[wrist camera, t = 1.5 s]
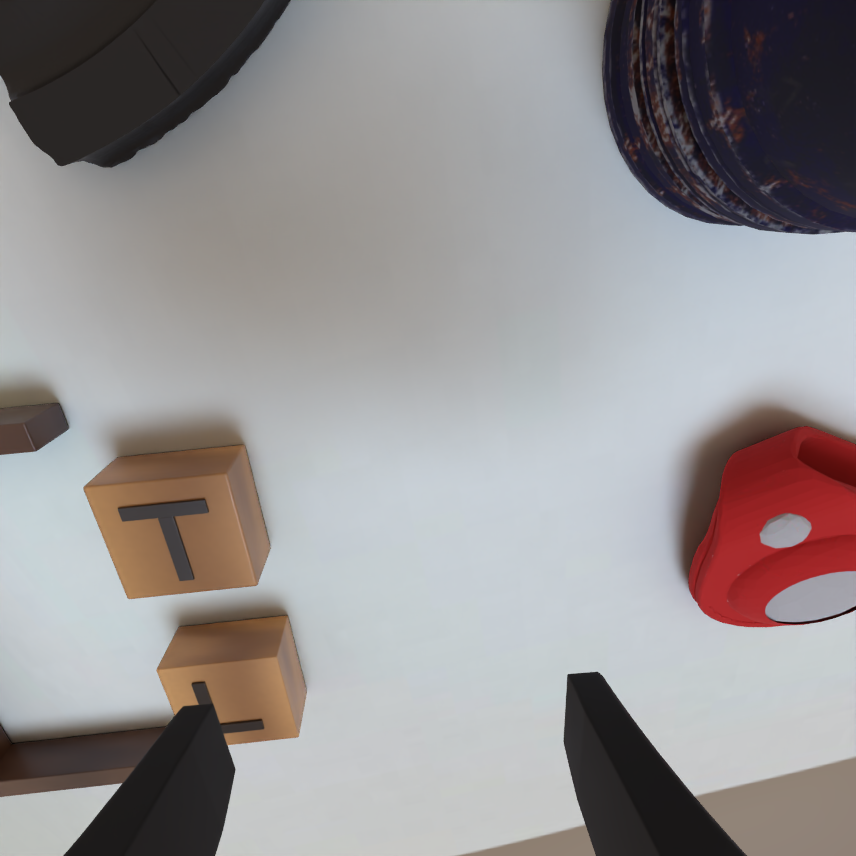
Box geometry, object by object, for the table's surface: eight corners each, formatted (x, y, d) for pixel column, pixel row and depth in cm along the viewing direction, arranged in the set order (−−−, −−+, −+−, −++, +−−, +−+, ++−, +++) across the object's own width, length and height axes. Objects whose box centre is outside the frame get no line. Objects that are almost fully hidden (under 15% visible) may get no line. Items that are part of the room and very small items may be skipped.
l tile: (206, 702, 23) (187, 752, 21) (178, 626, 21) (154, 672, 19) (307, 691, 23) (298, 739, 21) (287, 614, 22) (276, 658, 19)
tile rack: (-1, 759, 24) (-30, 800, 22) (-212, 428, 17) (-277, 452, 16) (192, 738, 24) (177, 777, 22) (59, 402, 17) (24, 422, 16)
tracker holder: (739, 672, 23) (662, 578, 17) (698, 582, 26) (623, 479, 21) (1097, 581, 18) (1147, 412, 13) (992, 486, 21) (996, 318, 16)
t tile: (154, 560, 20) (125, 602, 18) (116, 456, 18) (79, 489, 16) (271, 548, 20) (256, 588, 18) (245, 443, 18) (225, 474, 16)
